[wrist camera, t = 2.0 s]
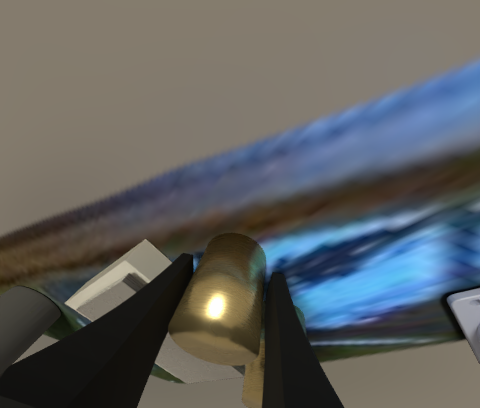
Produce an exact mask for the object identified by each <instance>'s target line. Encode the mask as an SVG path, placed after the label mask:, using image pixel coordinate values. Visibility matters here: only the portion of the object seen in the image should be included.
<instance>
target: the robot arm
mask: <svg viewBox="0 0 480 408" xmlns="http://www.w3.org/2000/svg"><path fill="white" fill-rule="evenodd" d="M193 274H194V268H193V255H190V254H186V253H183V254H181V255H180V256H179V257H178V258H177V259H176V260H175V261H174V262H173V263H171V264H170V265H169V266H168V267H167V268H166V269H165V270H164V271H162V272H161V273H160V274H159V275H158V276H156V277H155V278H154V279H153V280H152V281H150V282H149V283H148V284H147V285H145V286H144V287H143V288H142V289H140V290H139V291H138V292H136V293H135V294H134V295H132V296H131V297H130V298H128V299H127V300H125V301H124V302H123V303H121V304H120V305H118V306H117V307H115V308H114V309H112V310H111V311H109V312H107V313H106V314H104V315H103V316H101V317H100V318H98V319H96V320H95V321H93V322H91V323H90V324H88V325H86V326H85V327H83V328H81V329H79V330H78V331H76V332H74V333H72V334H70V335H69V336H67V337H65V338H63V339H62V340H60V341H58V342H56V343H54V344H52V345H50V346H48V347H47V348H44V349H42V350H40V351H39V352H36V353H35V354H33V355H30V356H28V357H26V358H25V359H23V360H21V361H19V362H16V363H14V364H12V365H10V366H9V367H8V368H7V369H6V370H4V371H3V372H2V373H1V374H0V408H137V406H138V403H139V401H140V398H141V395H142V393H143V390H144V387H145V385H146V383H147V380H148V377H149V375H150V373H151V370H152V368H153V365H154V363H155V361H156V358H157V356H158V353H159V351H160V349H161V346H162V344H163V342H164V340H165V338H166V335H167V333H168V326H169V323H170V321H171V319H172V317H173V315H174V313H175V311H176V309H177V307H178V305H179V303H180V301H181V299H182V297H183V295H184V293H185V291H186V288H187V286H188V284H189V282H190V280H191V278H192V276H193ZM447 302H448V304H449V306H450V308H451V310H452V312H453V314H454V316H455V318H456V320H457V322H458V324H459V326H460V327H461V329H462V331H463V333H464V335H465V337H466V339H467V341H468V343H469V345H470V347H471V349H472V351H473V352H474V354H475V356H476V358H477V360H478V362H479V363H480V288H477V289H473V290H468V291H464V292H459V293H455V294H452V295H450V296H449V297H448V298H447ZM264 329H265V365H264V383H263V397H262V408H344V406H343V405H342V403H341V401H340V399H339V398H338V396H337V394H336V392H335V391H334V389H333V387H332V385H331V384H330V382H329V380H328V378H327V377H326V375H325V373H324V371H323V369H322V367H321V366H320V363H319V361H318V359H317V357H316V355H315V353H314V351H313V349H312V347H311V345H310V343H309V341H308V339H307V337H306V334H305V332H304V330H303V327H302V325H301V323H300V320H299V318H298V315H297V313H296V310H295V307H294V305H293V302H292V299H291V296H290V293H289V290H288V287H287V283H286V279H285V276H284V275H283V274H279V273H274V272H272V276H271V280H270V283H269V287H268V290H267V294H266V302H265V313H264Z"/></svg>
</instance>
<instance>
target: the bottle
mask: <svg viewBox="0 0 480 408" xmlns="http://www.w3.org/2000/svg"><path fill="white" fill-rule="evenodd" d="M60 316H61V313H60V310H59V309H58V307H57V306H56V305H55V304H54V303H53V302H52V301H51V300H50V299H48V298H47V297H45V296H44V295H42V294H40V293H39V292H37V291H35V290H32V289H30V288H26V287H22V286H15V287H13V288H11V289H10V290H8V291H7V292H5V293H4V294H2V295H1V296H0V374H1V373H2V372H3V371H4V370H6V369H7V368H8V367H9V366H10V365H12V364H13V363H14V362H15V361H16V360H17V359H18V358H19V357H20V356H21V355H22V354H23V353H24V352H25V351H26V350H27V349H28V348H29V347H30V346H31V345H32V344H33V343H34V342H35V341H36V340H37V339H38V338H39V337H40V336H41V335H42V334H43V333H44V332H45V331H46V330H47V329H48V328H49V327H50V326H51V325H52V324H53V323H54V322H55V321H56V320H57V319H58V318H59V317H60Z"/></svg>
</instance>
